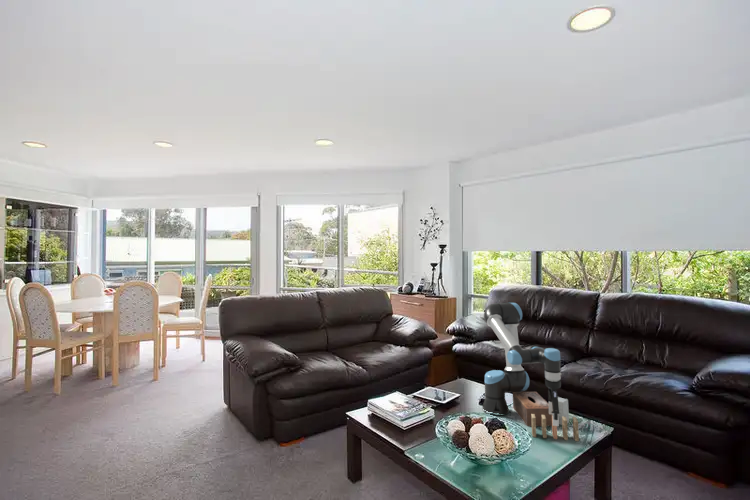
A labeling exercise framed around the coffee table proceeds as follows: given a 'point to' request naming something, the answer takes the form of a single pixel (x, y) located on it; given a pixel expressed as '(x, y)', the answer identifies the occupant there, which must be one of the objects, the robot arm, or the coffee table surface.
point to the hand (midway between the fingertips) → (553, 419)
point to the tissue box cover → (531, 407)
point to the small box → (563, 409)
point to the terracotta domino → (554, 430)
